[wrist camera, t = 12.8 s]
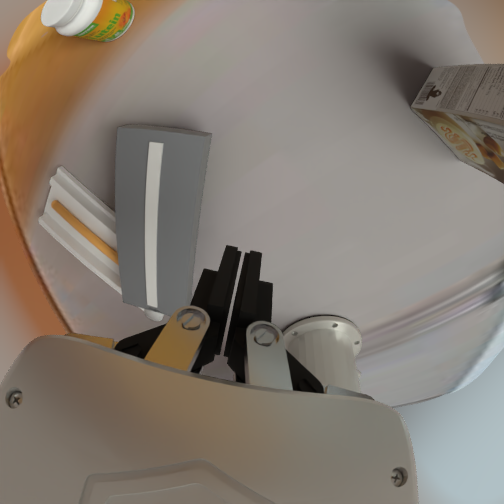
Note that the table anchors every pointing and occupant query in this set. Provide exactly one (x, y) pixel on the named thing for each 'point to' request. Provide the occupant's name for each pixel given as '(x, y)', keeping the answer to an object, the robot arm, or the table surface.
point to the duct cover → (158, 214)
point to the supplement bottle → (89, 18)
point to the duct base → (83, 226)
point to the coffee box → (467, 113)
